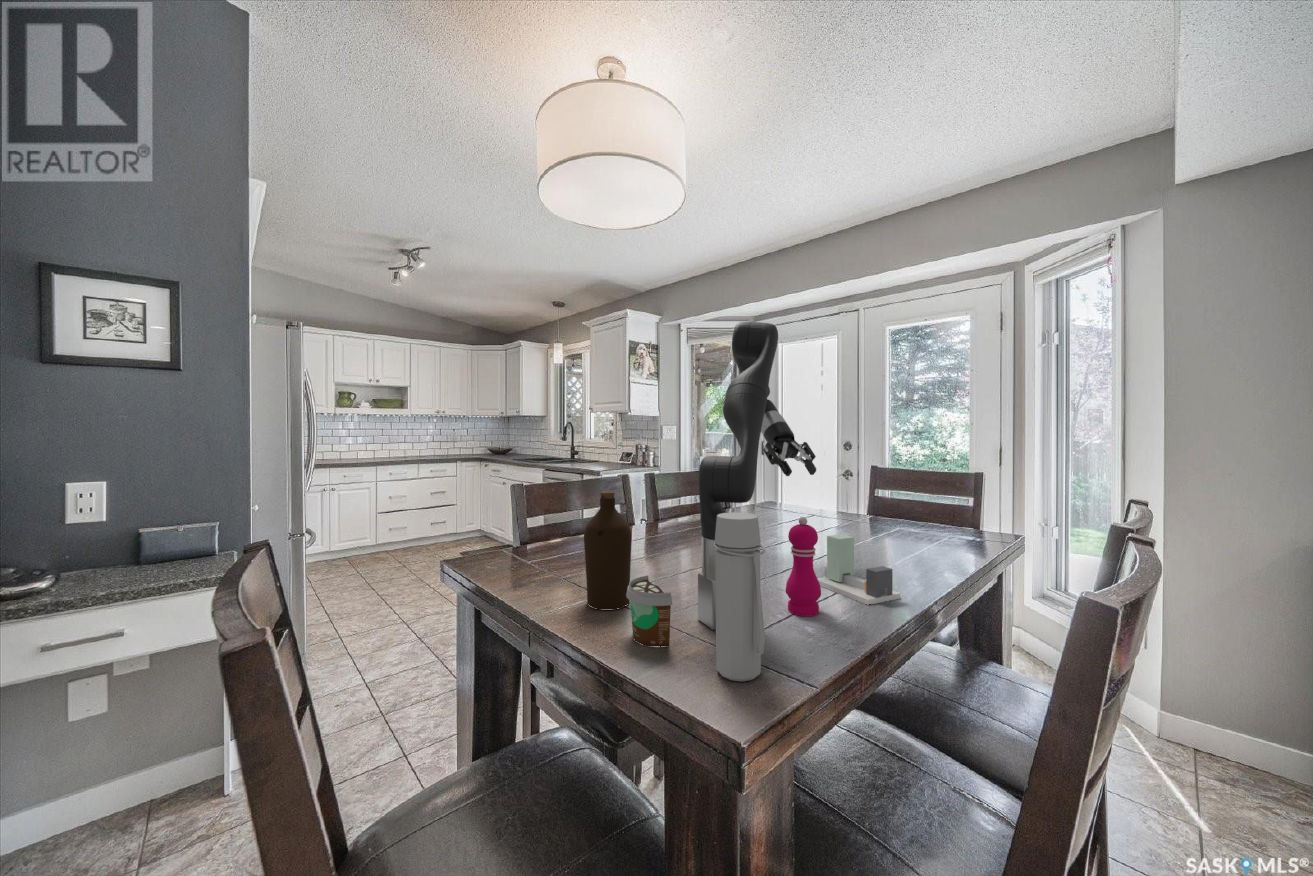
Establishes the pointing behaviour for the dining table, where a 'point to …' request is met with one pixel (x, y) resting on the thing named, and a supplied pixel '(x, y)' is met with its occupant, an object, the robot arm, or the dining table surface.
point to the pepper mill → (803, 571)
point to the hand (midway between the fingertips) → (801, 473)
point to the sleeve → (840, 556)
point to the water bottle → (738, 596)
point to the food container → (649, 612)
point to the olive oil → (607, 556)
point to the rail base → (864, 586)
